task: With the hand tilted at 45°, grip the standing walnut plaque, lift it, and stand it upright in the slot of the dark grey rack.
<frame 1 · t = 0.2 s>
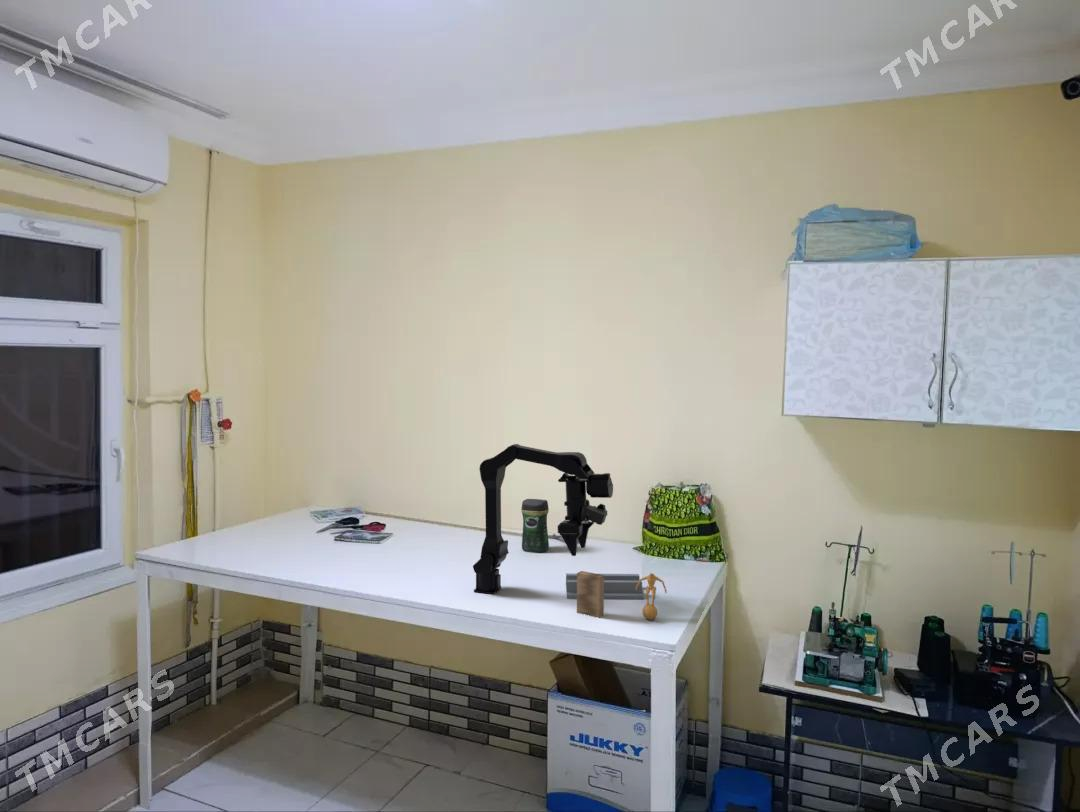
hand: (578, 551, 205), 14 cm above the table, tool pointing down, fingers open, 9 cm apart
coffee jar: (535, 550, 261), on the table
figurine: (650, 618, 192), on the table
rack: (603, 591, 214), on the table
plaque: (590, 614, 195), on the table
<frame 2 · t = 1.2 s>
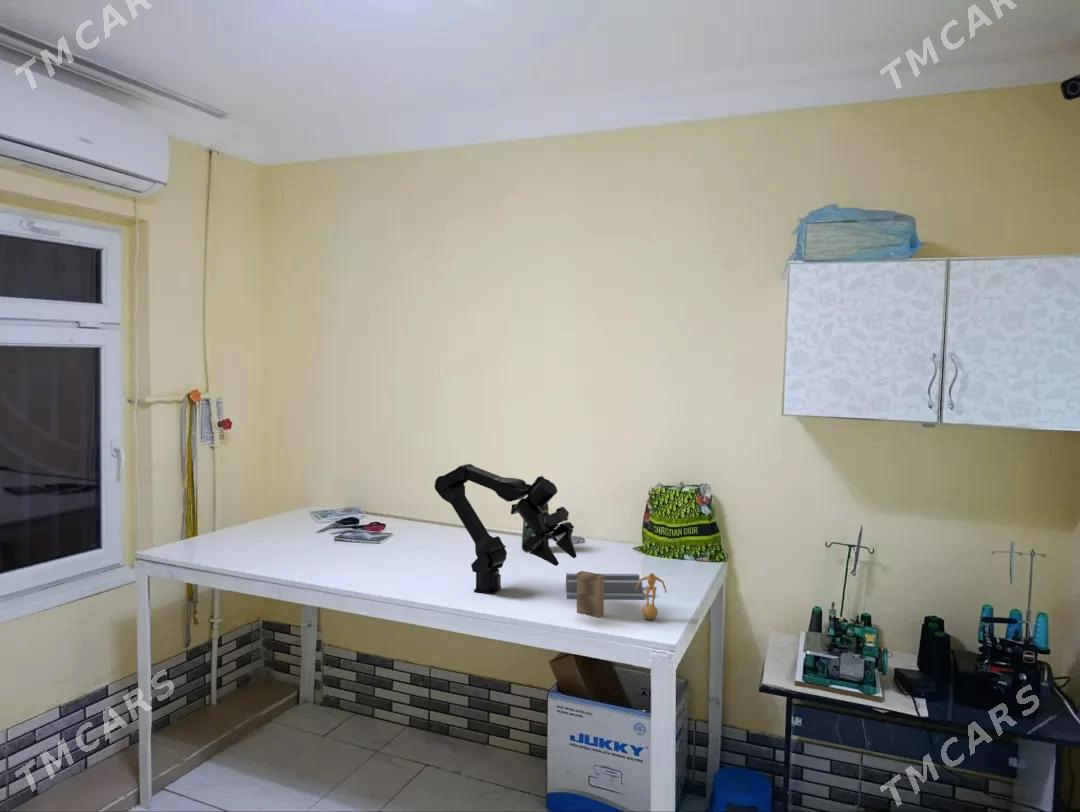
hand: (566, 561, 198), 13 cm above the table, tool tilted 45°, fingers open, 9 cm apart
nothing on the table moved.
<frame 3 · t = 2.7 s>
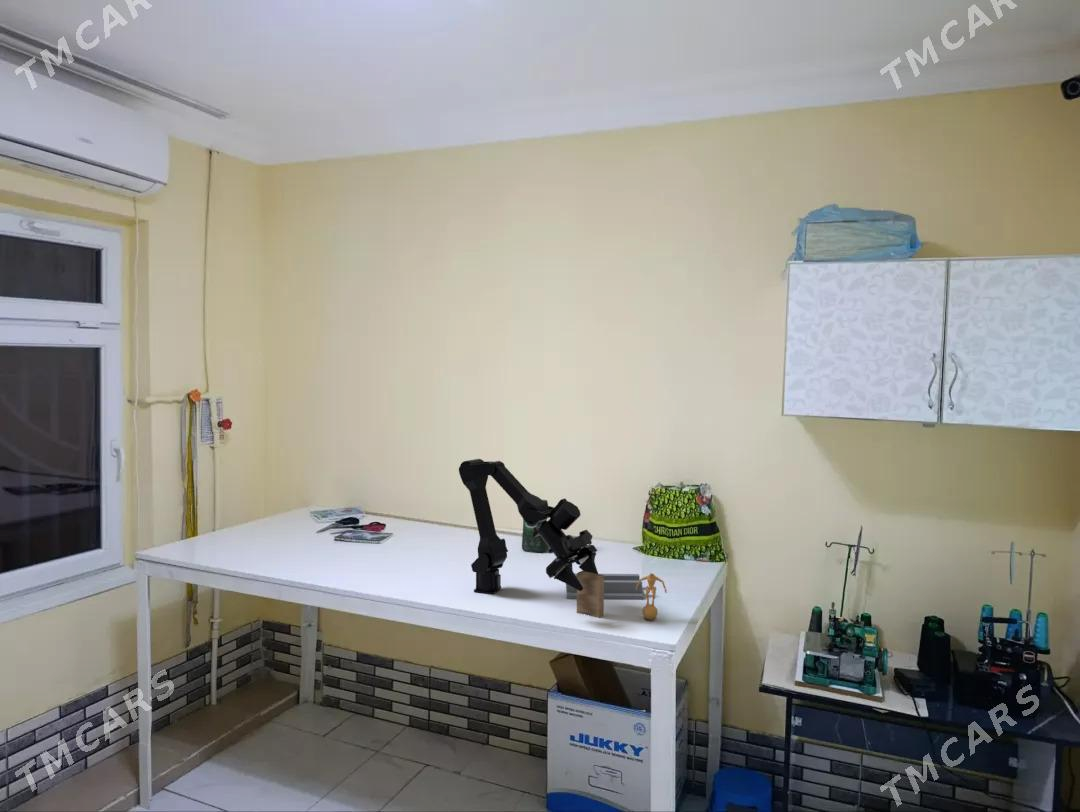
hand: (590, 585, 194), 8 cm above the table, tool tilted 45°, fingers open, 9 cm apart
nothing on the table moved.
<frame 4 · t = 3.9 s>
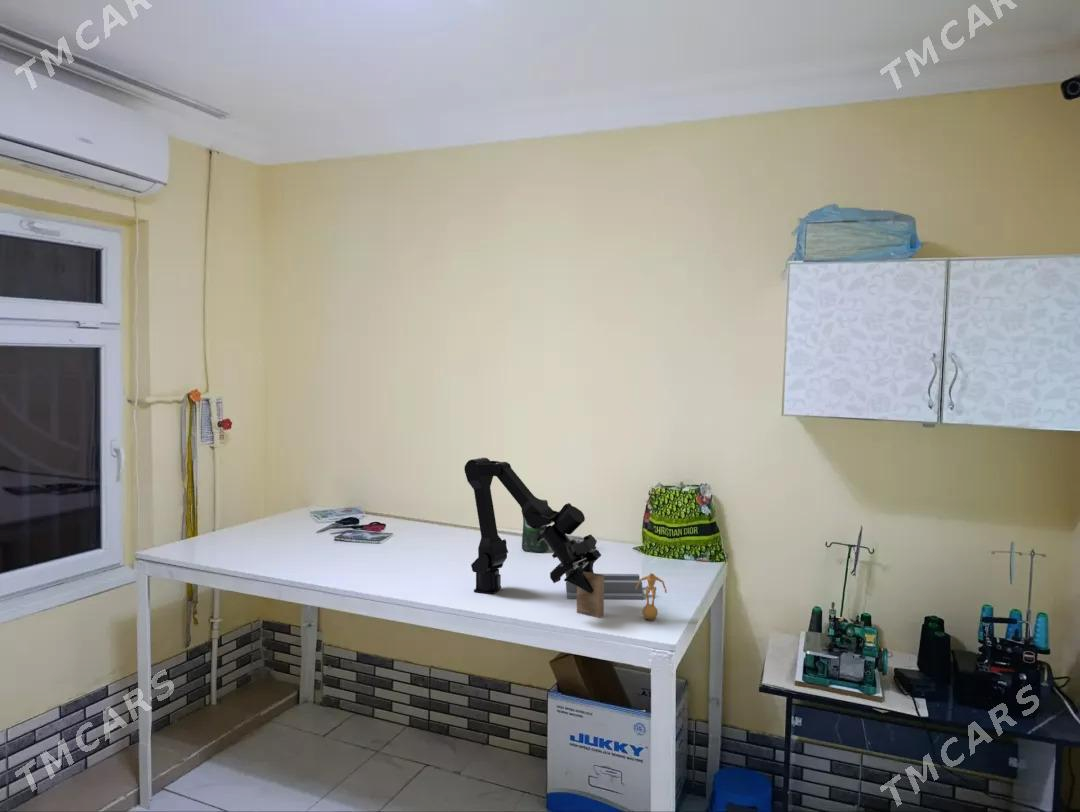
hand: (594, 590, 194), 7 cm above the table, tool tilted 45°, fingers closed on plaque, 2 cm apart
plaque: (590, 613, 195), on the table, touching gripper
everything else where it was.
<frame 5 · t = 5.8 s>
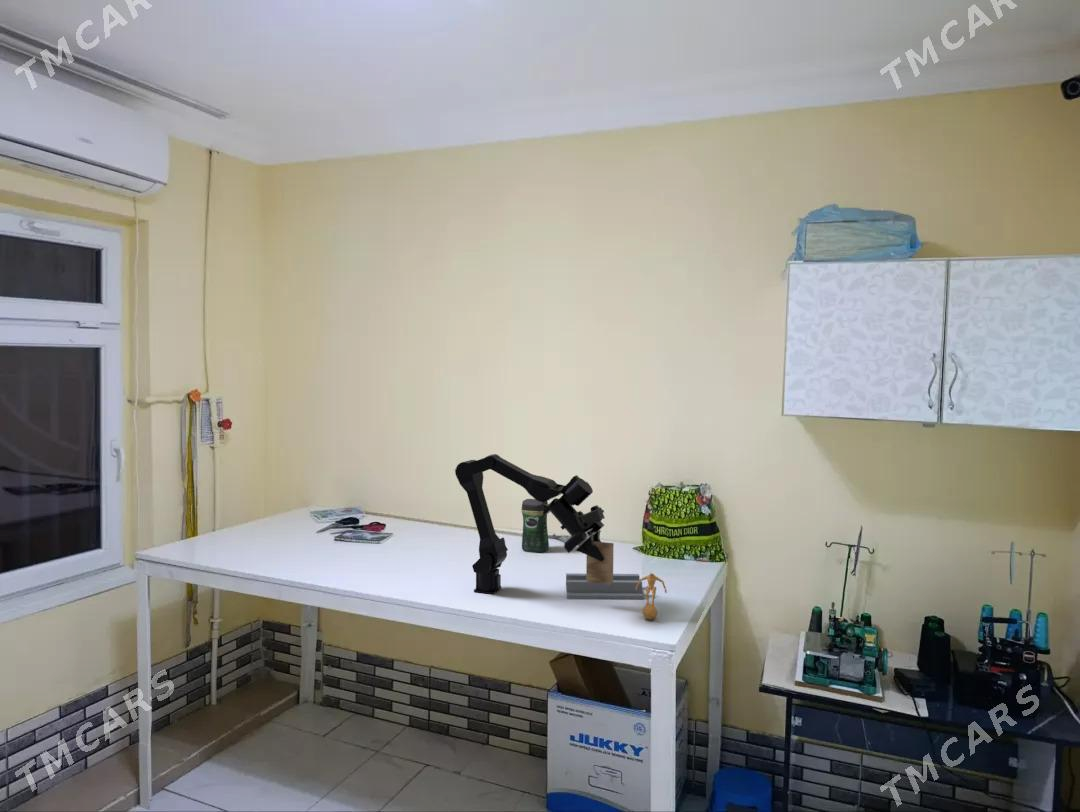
hand: (604, 559, 200), 13 cm above the table, tool tilted 45°, fingers closed on plaque, 2 cm apart
plaque: (599, 581, 201), point 7 cm above the table, touching gripper
everything else where it was.
when the fingers open (9 cm above the table, at t = 8.0 s): plaque drops 1 cm, resting on rack.
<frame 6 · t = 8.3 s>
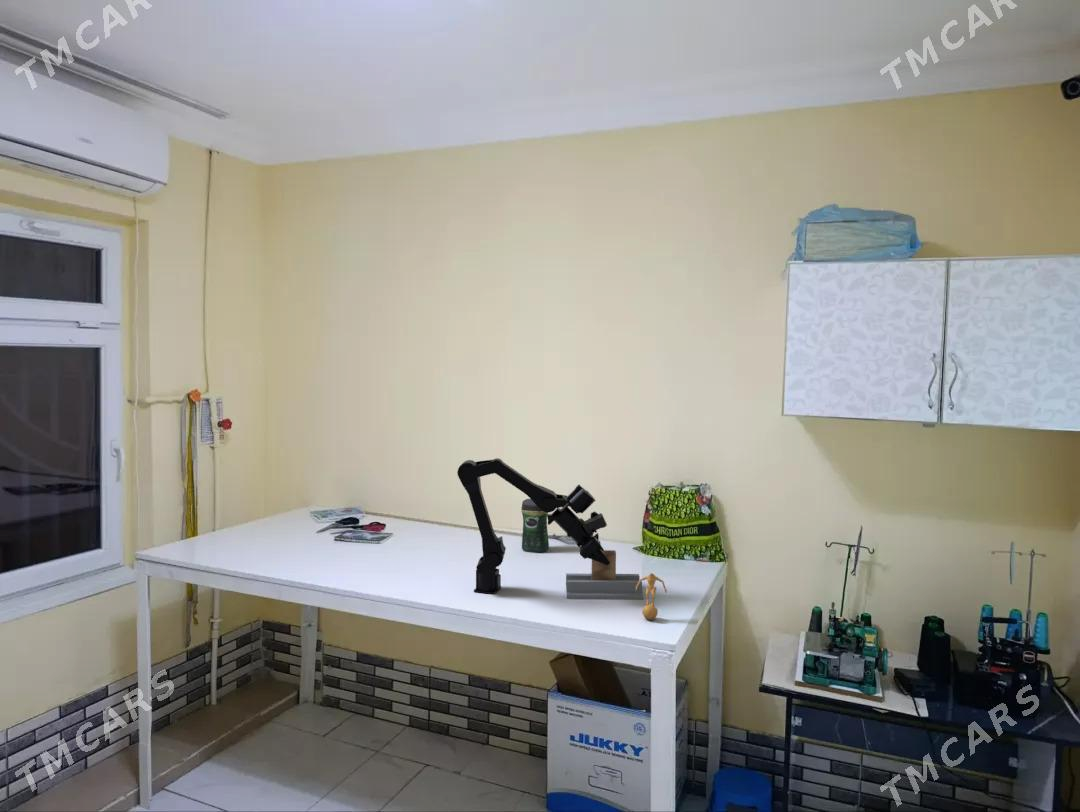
hand: (608, 561, 213), 9 cm above the table, tool tilted 45°, fingers open, 6 cm apart
plaque: (603, 587, 214), point 1 cm above the table, touching rack
everything else where it was.
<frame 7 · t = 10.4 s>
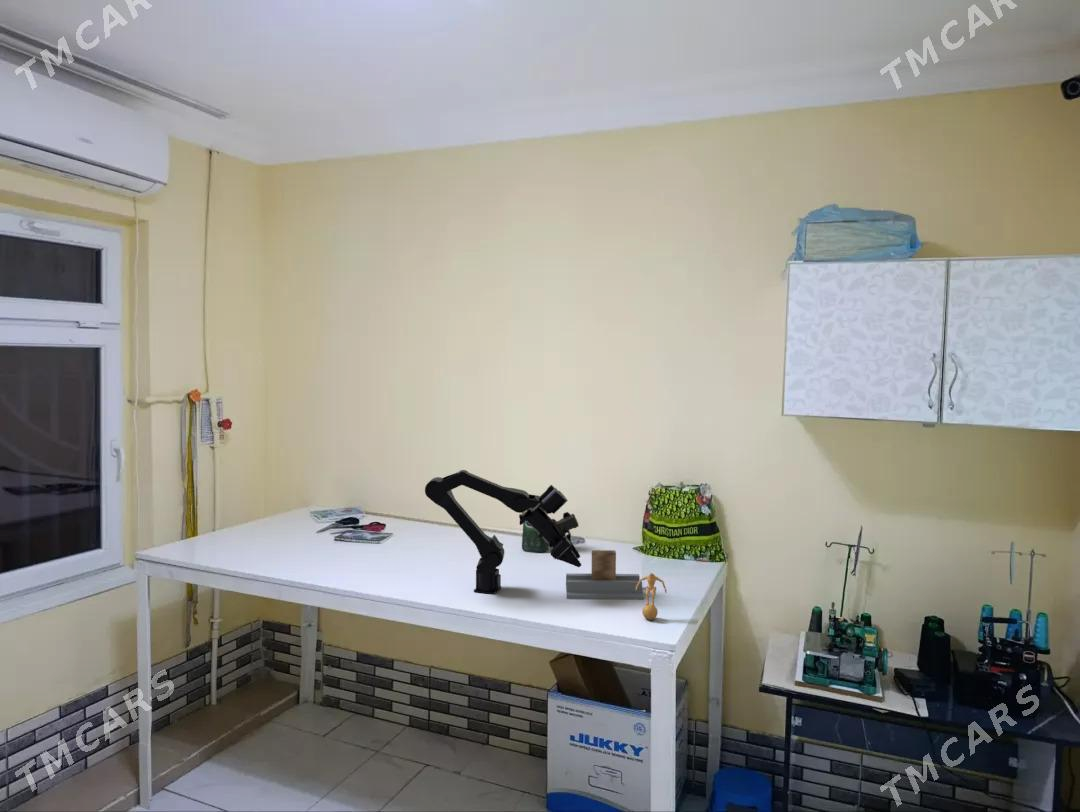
hand: (579, 561, 214), 9 cm above the table, tool tilted 45°, fingers open, 9 cm apart
nothing on the table moved.
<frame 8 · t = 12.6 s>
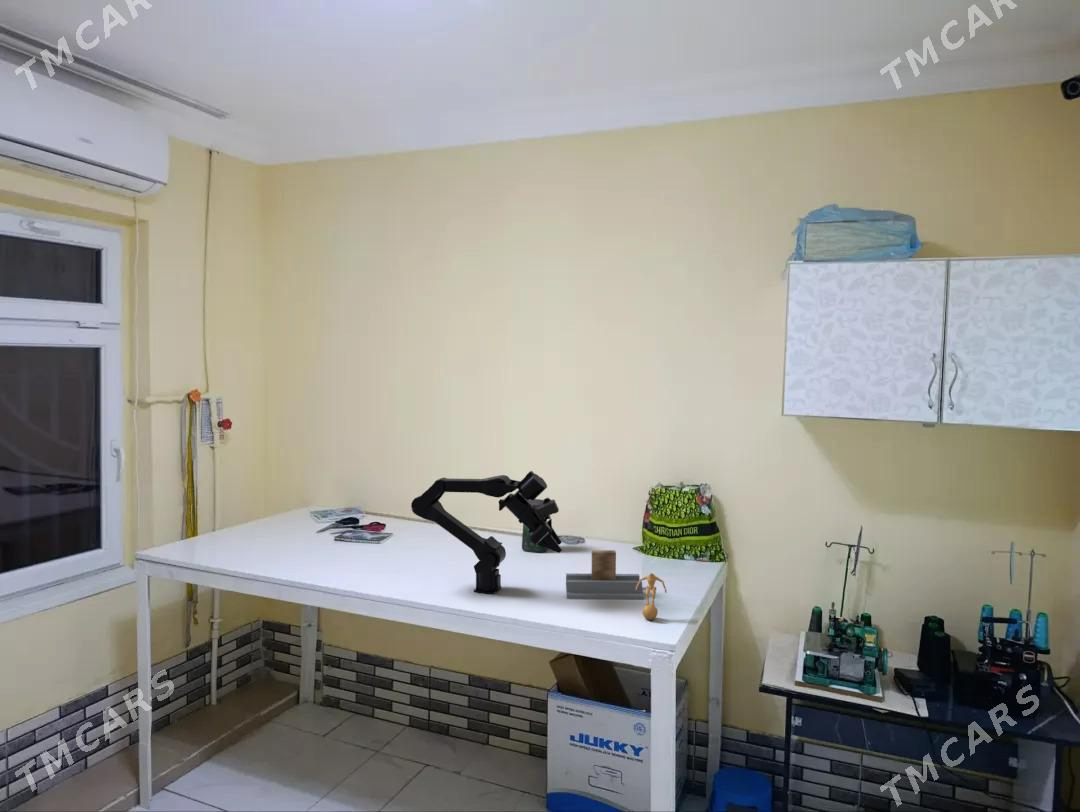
hand: (560, 547, 212), 14 cm above the table, tool tilted 45°, fingers open, 9 cm apart
nothing on the table moved.
at the end: plaque inside the target area on the rack (0.1 cm from its centre), point 1.0 cm above the rack's base; plaque tilted 0°; the gripper is holding nothing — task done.
